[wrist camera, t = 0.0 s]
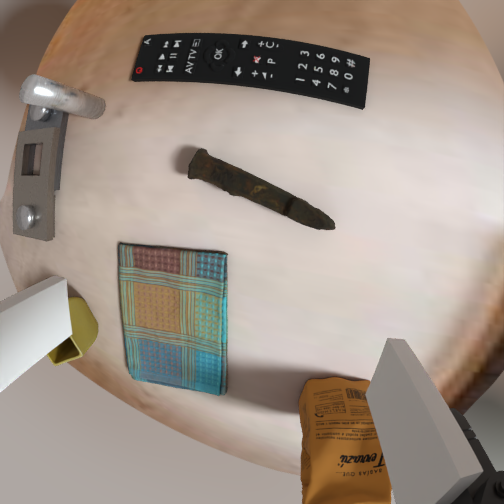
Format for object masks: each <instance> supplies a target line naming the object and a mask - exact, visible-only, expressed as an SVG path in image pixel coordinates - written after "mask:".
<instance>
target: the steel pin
mask: <svg viewBox="0 0 504 504" xmlns="http://www.w3.org/2000/svg"><path fill="white" fill-rule="evenodd" d="M19 95H20V96H19V97H20V101H21V102H22V103H27V104H31V105H36V106H41V107H45V108H50V109H54V110H58V111H63V112H67V113H71V114H75V115H79V116H83V117H86V118H90V119H97V118H99V117H100V116H101V115H102V114H103V113H104V110H105V106H106V104H105V101H104V99H102V98H100V97H97V96H95V95H92V94H89V93H87V92H84V91H81V90H79V89H76V88H73V87H70V86H68V85H65V84H62V83H59V82H56V81H53V80H50V79H47V78H44V77H41V76H38V75H34V74H33V75H30V76H29V77H27V78H26V80H25V81H24V83H23V84H22V87H21V89H20V94H19Z"/></svg>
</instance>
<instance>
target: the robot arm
mask: <svg viewBox="0 0 504 504" xmlns="http://www.w3.org/2000/svg"><path fill="white" fill-rule="evenodd" d="M71 335H72V328H71V320H70V312H69V304H68V293H67V281H66V278H62V277H59V276H56V275H54V276H52V277H49V278H47V279H45V280H43V281H41V282H39V283H37V284H35V285H33V286H30V287H28V288H26V289H24V290H22V291H20V292H18V293H16V294H14V295H12V296H10V297H8V298H6V299H4V300H2V301H0V392H1V391H2V390H4V389H5V388H6V387H7V386H8V385H9V384H11V383H12V382H13V381H14V380H15V379H17V378H18V377H19V376H20V375H21V374H23V373H24V372H25V371H26V370H28V369H29V368H30V367H31V366H33V365H34V364H35V363H36V362H38V361H39V360H40V359H41V358H43V357H44V356H45V355H46V354H48V353H49V352H50V351H51V350H53V349H54V348H55V347H56V346H58V345H59V344H60V343H62V342H63V341H64V340H65V339H67V338H68V337H69V336H71ZM365 395H366V398H367V402H368V405H369V408H370V411H371V414H372V418H373V421H374V424H375V428H376V431H377V435H378V438H379V441H380V445H381V448H382V452H383V456H384V459H385V463H386V467H387V470H388V474H389V478H390V482H391V486H392V490H393V494H394V498H395V502H396V504H504V471H498V472H496V470H495V469H494V467H493V465H492V463H491V461H490V460H489V458H488V456H487V454H486V452H485V451H484V449H483V447H482V445H481V444H480V442H479V440H478V439H476V435H475V433H474V432H473V430H472V431H471V427H470V425H469V423H468V422H467V420H466V418H465V417H464V416H463V415H462V414H460V413H459V412H458V411H457V410H456V409H455V408H451V409H449V407H448V406H447V404H446V403H445V401H444V399H443V398H442V396H441V394H440V393H439V391H438V390H437V388H436V386H435V385H434V383H433V382H432V380H431V378H430V377H429V375H428V374H427V372H426V371H425V369H424V368H423V366H422V365H421V363H420V361H419V360H418V358H417V357H416V355H415V354H414V352H413V351H412V349H411V348H410V347H409V345H408V344H407V342H406V341H405V339H392V338H387V341H386V344H385V347H384V349H383V352H382V355H381V357H380V360H379V363H378V365H377V368H376V370H375V373H374V375H373V378H372V380H371V382H370V385H369V387H368V389H367V392H366V394H365Z"/></svg>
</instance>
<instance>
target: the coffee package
mask: <svg viewBox="0 0 504 504" xmlns="http://www.w3.org/2000/svg"><path fill="white" fill-rule="evenodd" d="M369 385H370V381H369V380H362V381H350V380H346V379H343V378H340V377H330V378H326V379H310V380H308V381H307V382H306V383H305V386H304V389H303V391H302V393H301V396H300V399H299V414H300V423H301V427H302V433H303V438H302V453H301V482H302V486H303V487H302V489H303V490H302V495H303V499H302V504H391V490H392V486H391V482H390V478H389V474H388V470H387V467H386V463H385V459H384V456H383V452H382V448H381V445H380V441H379V438H378V435H377V431H376V428H375V424H374V421H373V418H372V414H371V411H370V408H369V405H368V402H367V398H366V395H365V394H366V392H367V389H368V387H369Z"/></svg>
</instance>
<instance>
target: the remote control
mask: <svg viewBox="0 0 504 504" xmlns="http://www.w3.org/2000/svg"><path fill="white" fill-rule="evenodd" d="M369 65H370V58H367V57H364V56H360V55H357V54H353V53H349V52H345V51H341V50H337V49H333V48H328V47H324V46H319V45H314V44H309V43H304V42H298V41H292V40H285V39H278V38H270V37H262V36H252V35H239V34H221V33H175V34H156V35H145V36H144V39H143V42H142V45H141V48H140V51H139V54H138V58H137V61H136V64H135V68H134V71H133V75H132V79H131V80H133V81H134V82H142V81H175V82H200V83H215V84H227V85H237V86H246V87H254V88H261V89H268V90H275V91H281V92H287V93H293V94H298V95H303V96H308V97H313V98H318V99H322V100H327V101H331V102H335V103H339V104H343V105H347V106H351V107H355V108H358V109H362V110H363V109H364V108H365V102H366V93H367V84H368V75H369Z"/></svg>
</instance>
